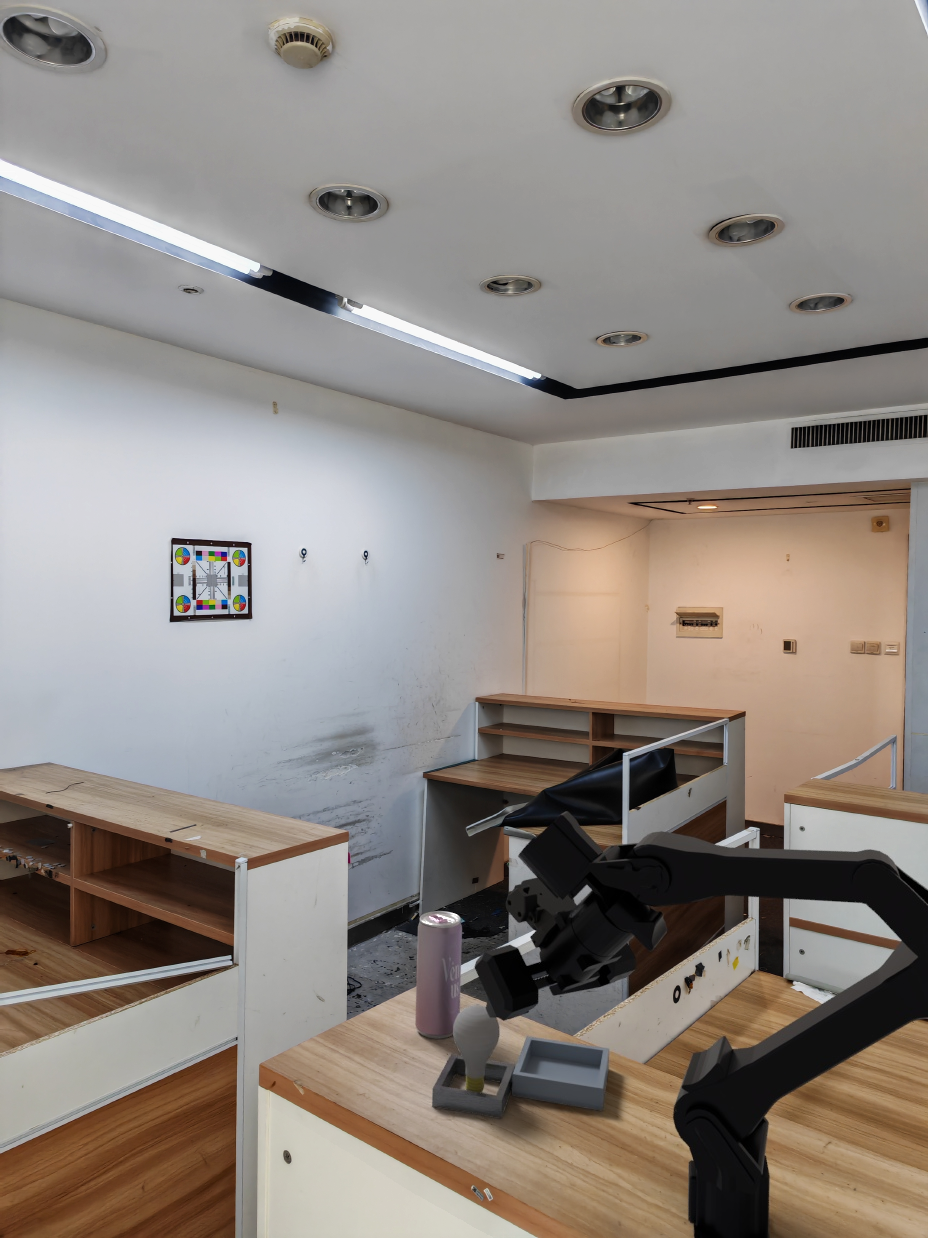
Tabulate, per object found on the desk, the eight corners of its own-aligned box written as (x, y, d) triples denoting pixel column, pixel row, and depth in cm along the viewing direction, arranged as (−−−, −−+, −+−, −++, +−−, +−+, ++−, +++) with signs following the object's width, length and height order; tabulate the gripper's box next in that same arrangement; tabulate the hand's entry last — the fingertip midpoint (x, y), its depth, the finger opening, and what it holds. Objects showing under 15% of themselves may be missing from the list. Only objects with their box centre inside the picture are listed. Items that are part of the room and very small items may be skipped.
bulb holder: (514, 1081, 98) (515, 1064, 98) (501, 1119, 90) (501, 1100, 90) (450, 1070, 100) (451, 1054, 100) (432, 1106, 92) (432, 1089, 92)
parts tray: (608, 1069, 101) (609, 1048, 101) (602, 1111, 92) (602, 1089, 92) (526, 1056, 104) (526, 1036, 104) (512, 1096, 95) (512, 1074, 95)
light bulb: (493, 1110, 92) (496, 1020, 92) (446, 1103, 93) (449, 1015, 93) (501, 1084, 97) (503, 999, 97) (456, 1078, 98) (458, 994, 98)
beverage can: (441, 1015, 114) (443, 907, 115) (468, 1031, 110) (471, 920, 110) (406, 1027, 111) (409, 916, 111) (433, 1045, 106) (436, 929, 106)
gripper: (617, 846, 91) (548, 918, 100) (487, 873, 80) (422, 951, 89) (673, 938, 85) (594, 1007, 93) (541, 982, 74) (465, 1055, 82)
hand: (521, 1001), depth 89 cm, fingers open, 9 cm apart
